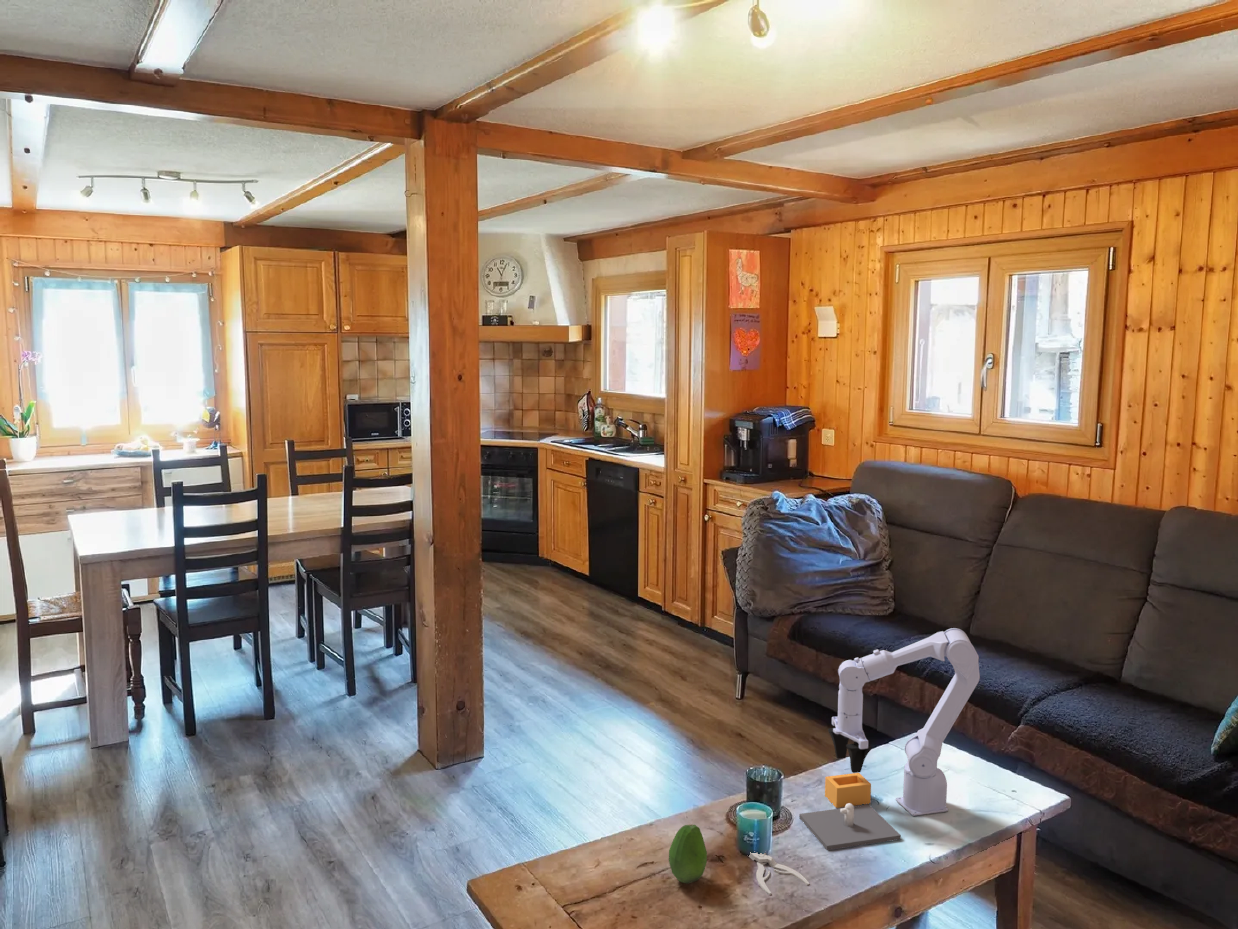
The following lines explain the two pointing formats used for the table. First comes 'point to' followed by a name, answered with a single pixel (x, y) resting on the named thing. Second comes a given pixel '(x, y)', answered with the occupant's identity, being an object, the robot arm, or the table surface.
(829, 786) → the orange link
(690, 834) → the avocado
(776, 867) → the pliers
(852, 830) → the hook board
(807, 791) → the table surface
